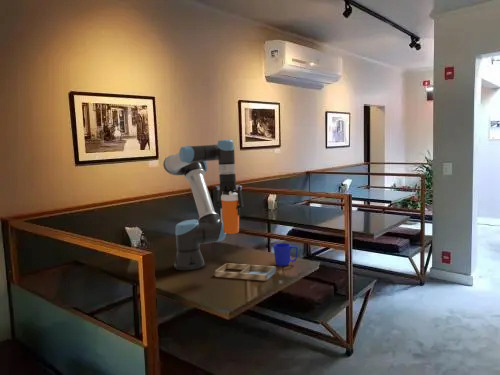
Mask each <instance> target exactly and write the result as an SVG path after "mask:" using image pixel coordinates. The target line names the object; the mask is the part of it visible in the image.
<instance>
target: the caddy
mask: <svg viewBox="0 0 500 375" xmlns="http://www.w3.org/2000/svg"><path fill="white" fill-rule="evenodd" d="M228 269H229V270H241V271H240V272H235V271H234V272H233V271H226V270H228ZM276 272H277V265H275V266H273V265H259V264H258V265H257V264H245V263H243V264H242V263H240V264H239V263H227V262H225V263H224V264H223V265H220V266H219V267H218V268H217V269H215V270H214V271H213V277H217V278H226V279H227V278H228V279H230V278H231V279H241V280H251V281H265V282H267V281H269V279H270V278H271V277H272V276H274V274H276Z"/></svg>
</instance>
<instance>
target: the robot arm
mask: <svg viewBox="0 0 500 375" xmlns="http://www.w3.org/2000/svg"><path fill="white" fill-rule="evenodd" d="M235 159H236V158H235V144H234V141H233V140H232V139H222V140H218V141H217V144H208V145H207V144H206V145H185V146H181V147H180V148H179V152H178V153H176V154H171V155H168V156H167V157H165V158H164V160H163V164H162V166H163V169H164V171H166V173H168V174H169V175H172V176H184V178H185V180H186V181H188V182H189V185H190V190H191V192H192V195H193V199H194V201H195V206H196V210H197V214H198V216H199V218H198V219H194V218H193V219H186V220H183V221H180V222H178V223H177V224H176V225H175V234H174V235H175V241H176V243H175V244H176V255H175V259H174V269H175V268H176V269H175V270H178V271H192V270H197V269H201V268H203V267H204V266H205V261H204V257H203V255H202V252H201V248H200V245H205V244H211V243H217V242H221V241H224V240H225V239H226V236H227V234H226V233H224V226H223V214H222V201H221V196H220V195H222V192H223V191H231V192H232V191H233V192H234V193H238V200H239V206H238V205H237V209H238V215H239V216H240V215H241V208H243V207H244V206H245V205H244V199H243V198H244V197H243V185H238V184H237V183H236V181H237V179H236V178H237V177H236V163H235V162H236V160H235ZM210 161H211V162H212V161H213V162H214V161H218V172H219V177H218V178H219V184H218V185H215V186H214V187H213V190H214V205H213V201H212V198H211V194H210V192H209V189H208V185H207V182H206V178H205V176H206V172H207V170H208V163H207V162H210ZM220 190H221V192H220ZM234 190H236V191H234ZM233 192H232V194H233ZM220 193H221V194H220ZM214 207H215V208H218V212H216V211H215V208H214Z"/></svg>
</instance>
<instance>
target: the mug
mask: <svg viewBox="0 0 500 375" xmlns="http://www.w3.org/2000/svg"><path fill="white" fill-rule="evenodd" d="M292 249H296V250H295V252H296V253H295V258H294V259H291V250H292ZM273 252H274V253H273V254H274V260H275V264H276V266H279V267H286V266H288V265H289V264H290V262H292V263H293V262H296V260H298V254H299V247H298V246H291V245H290V244H289V243H286V242H285V243H284V242H279V243H275V244H274V245H273Z"/></svg>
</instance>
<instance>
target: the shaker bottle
mask: <svg viewBox="0 0 500 375" xmlns="http://www.w3.org/2000/svg"><path fill="white" fill-rule="evenodd" d="M234 191H235V193H234V192H233V191H232V192H233V194H232V192H231V191H223V192H222V191H221V193H222V195H221V194H220V195H221V196H220V198H221V201H222V214H223V226H224V233H226V235H227V234H229V235H233V234H237V233H238V234H239V232H240V215H238V209H237V205H238V206H239V200H238V193H237V189H235V190H234Z"/></svg>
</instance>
